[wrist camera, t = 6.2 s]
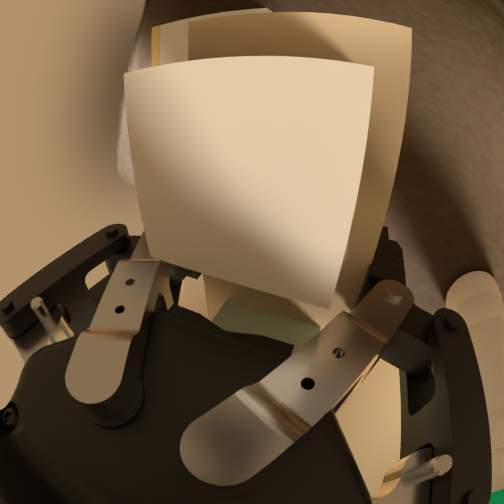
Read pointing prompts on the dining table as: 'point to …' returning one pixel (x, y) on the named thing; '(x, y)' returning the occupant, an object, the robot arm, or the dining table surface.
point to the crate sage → (263, 324)
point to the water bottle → (486, 355)
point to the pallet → (378, 139)
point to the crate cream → (251, 167)
